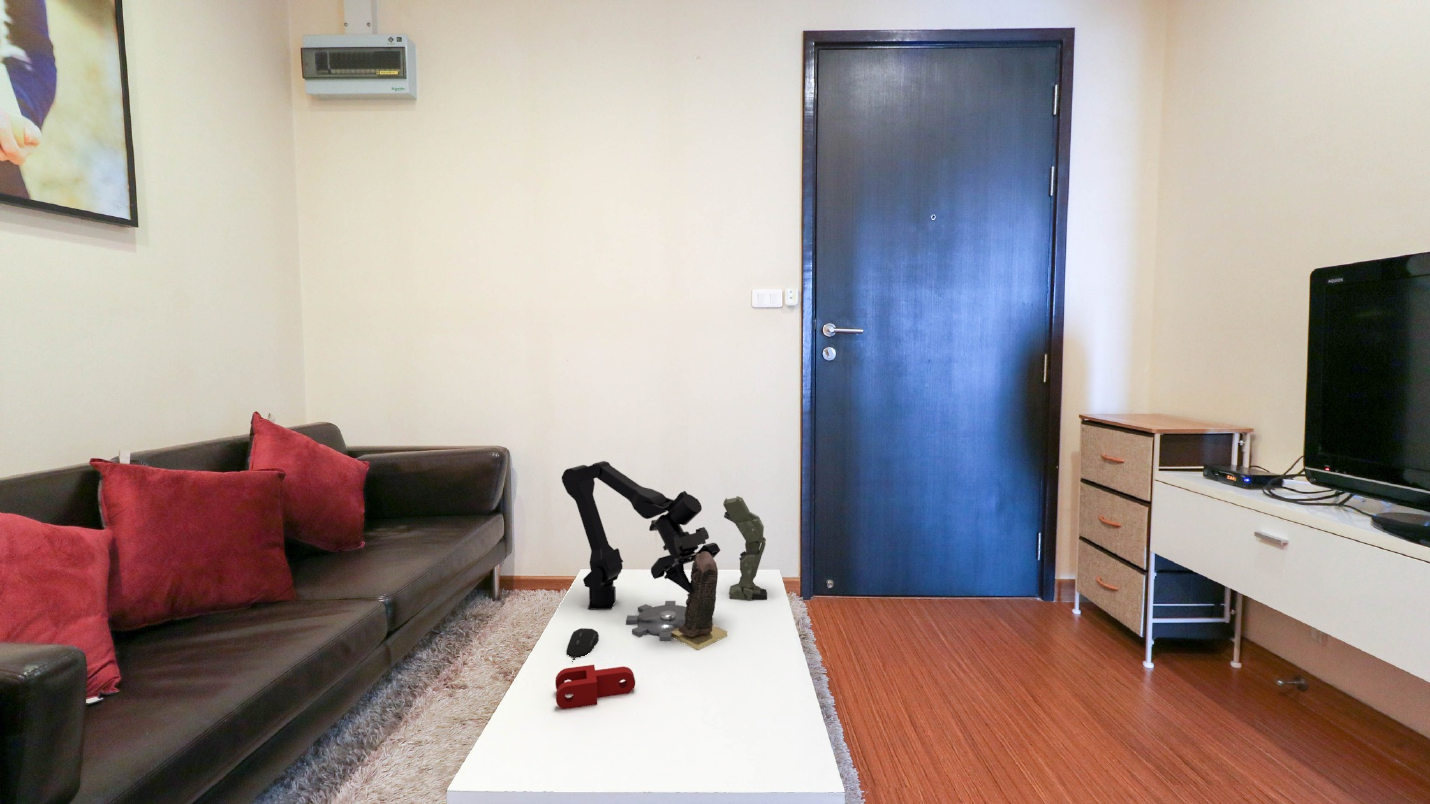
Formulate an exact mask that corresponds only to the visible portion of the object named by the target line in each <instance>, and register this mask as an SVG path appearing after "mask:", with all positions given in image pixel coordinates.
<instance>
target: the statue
mask: <svg viewBox="0 0 1430 804" xmlns="http://www.w3.org/2000/svg"><path fill="white" fill-rule="evenodd" d="M718 575H719V569H718V566H717V562H716V561H715V559H714V558H712V556H711V555H710V554H709V553H708V552H706V551H704V552H701V553H700V554H697V555H696V557H695V561H693V562H692V564H691V572H690V581H689V582H690V584H691V586H692V588H693V591H694V593H693V594H690V593H686V596H687V599H686V600H685V605H686V606H685V607H686V611H685V615H684V616H685V623H684V624H683V625H682V626H680V627H679V628H678V630H679V632H681V633H683V634H685V635H687V636H689V637H695V636H697V635H700V634H709V633H710V632H712V626H713V622H714V621H713V620H714V619H713V618H714V617H713V616H714V612H715V609H716V601H717V586H718Z"/></svg>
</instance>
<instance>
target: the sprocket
mask: <svg viewBox="0 0 1430 804" xmlns="http://www.w3.org/2000/svg"><path fill="white" fill-rule="evenodd" d="M685 611H686V606H683V605H677V604H676V600H665V602H664V605H656V606H651V605H649V604H647V603H646V604H641V605H640V606H638V607H637V612H638V614H636V615H627V616H626V620H625V625H626V626H628V625H629V626H630V625H631V626H634V625H636V626H635V627H634V628H632V629H631V634H632V635H633V636H635V637H637V638H641V637H644V636H646V635H652V636H655V635H657V637H658V638H659V639H658V640H659V641H671V642H672V639H674V638H675V639H674V640H676V639H677V641H678V640H679V642H680V641H681V642H680V643H682V642H683V643H682V644H684V643H685V645H686V644H687V646H688V645H689V647H690V646H692V647H691V648H693V649H695V648H696V649H695V650H697V649H699V650H701V649H703V648H705V647H707V646H709V644H710V645H711V644H713V642H714V643H716V642H718V641H719V640H718V639H720V640H721V639H724V638H726V637H727V636H728V631H727V630H724V629H723V628H720V627H718V626H715V625H713V626H712V632H710V633H709V634H700V635H697V636H695V637H689V636H687V635H685V634H683V633H681V632H679V630H678V628H679V627H680V626H682V625H683V624H684V623H685V616H684V615H685ZM643 635H644V636H643ZM725 636H726V637H725ZM672 637H673V638H672ZM723 637H724V638H723ZM717 640H718V641H717ZM715 641H716V642H715ZM704 646H705V647H704ZM702 647H703V648H702ZM700 648H701V649H700Z"/></svg>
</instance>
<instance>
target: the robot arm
mask: <svg viewBox="0 0 1430 804" xmlns="http://www.w3.org/2000/svg"><path fill="white" fill-rule="evenodd" d="M595 479H598V480H600V482H602V483H603V484H605V485H607V487H609V488H611V490H613V491H615V492H617V493H618V494H619V495H620V496H622V497H624V498H625V499H627V500H628V502H629V503H630V504H631V506H632V508H633V510H634V511H635V512H637V514H638V515H639V516H640V517H641V518H643V519H646V520H648V519H652V518H656V517H657V516H659V517H658V518H657V519H652V520H651V522H650V525H649V529H648V531H650V532H653V531H656V532H658V534H659V536H660V538H661V540H662V542H663V544H664V545H663V546H662V549H663V551H668V553H669V555H665V556H661V557H659V558H657V559H656V561H655V562H654V564H653V565H652V566H651V567H650V573H651V575H652V578H653V580H656V579H660V578H662V577H663V578H664V579H665V580H667V579H668V580H670V581H671V582H673V583H675V584H676V585H678V586H679V587H680V588H681V589H683V590H684V591H685V592H687V594H689V593H690V594H693V593H694V591H693V588H692V586H691V584H690V582H691V581H690V580H689V578H688V577H687V574H686V572H685V568H684V566H685V564H689V563H691V562H692V563H693V562H694V561H695V557H696V555H697V554H700V553H701V552H704V551H706V552H708V553H709V554H710V555H711V556H712V558H713V559H714V558H715V557H716V556H717V555H718V554H719V553H720V552H721V548H720V547H719V545H718V544H717V543H716V542H711V543H710V542H709V543H707V542H706V540H708V539H710V535H709V531H707V529H706V527H704V526H703V527H699V528H697V529H695V532H694V533H690V532H688V531H684V530H683V528H682V526H686V525H688V524H689V523H690V522H691V521H692V520H693V519H694V518H696V516H697V515H699V514H700V512H701V511H702V509H703V508H702V504H701V502H700V501H699V499H698V498H696V497H695V496H693V495H691V494H689V493H688V492H687V491H685V490H684V491H680V493H678V495H677V496H676V498H674V499H673V498H669V497H666V496H665V495H664V494H663V493H662V492H660V491H658V490H655V489H652V488H650V487H644V486H642V485H640V484H639V483H637V482H636V481H634V480H632V479H631V478H629V477H628V475H625V474H624V473H622V472H621V471H619V470H618V469H617V468H615V467H613V466H612V465H611V463H610V462H609V461H605V460H603V461H602V460H601V461H598V462H595V463H593V464H590V465H586V464H581V465H577V466H574V467H570V468H569V467H568V468H567V469H565V470H564V471H563V473H562V475H561V482H562V484H563V486H564V490H565V491H566V492H567V494H568V495H569V496H570V497H571V498H572V499H573V500H574V501H575V503H576V504H575V505H576V507H577V510H578V512H579V515H580V516H579V517H580V519H581V522H582V526H583V529H584V532H585V535H586V537H587V542H588V544H589V547H590V548H589V549H590V557H589V568H590V572H588V573H587V575H586V576H585V577H583V584H584V587H586V588H588V596H589V597H588V602H589V603H588V607H587V610H611V609H613V607H614V605H615V604H616V601H617V593H616V592H617V590H616V589H617V588H616V586H614V582H615V581H616V580H617V581H618V578H619V575H620V574H621V572H622V570H623V562H624V560H623V559H622V556H621V554H620V553H621V552H620V549H619V548H615V549H614V548H613V547H612V546H611V545H610V544H609V541H608V537H607V535H606V531H605V529H604V525H603V522H602V519H601V516H600V513H599V509H598V507H597V504H596V500H595V496H594V489H595V486H596V485H595ZM665 513H666V514H665ZM701 545H702V547H700V549H699V546H701ZM698 549H699V550H698ZM697 550H698V551H697Z"/></svg>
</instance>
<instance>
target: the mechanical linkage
mask: <svg viewBox="0 0 1430 804" xmlns="http://www.w3.org/2000/svg"><path fill="white" fill-rule="evenodd" d="M635 686H636V678H635V674H634V672H633V670H632V668H630V667H627V666H617V667H609V668H602V669H596V667H595V664H588V665H580V666H573V667H566V668H563V669H561V670H560V671H559V672H558V673H557V674H556V677H555V690H556V692H555V701H556V705H557V706H558V708H560V709H562V710H565V711H566V710H569V709H570V710H571V709H577V708H578V709H579V708H584V707H591V706H592V707H593V706H598V699H600V698H608V697H615V696H623V695H629V694H631V693H632V691H633V690H634V689H635ZM566 695H572V696H568V697H567V696H566Z"/></svg>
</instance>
